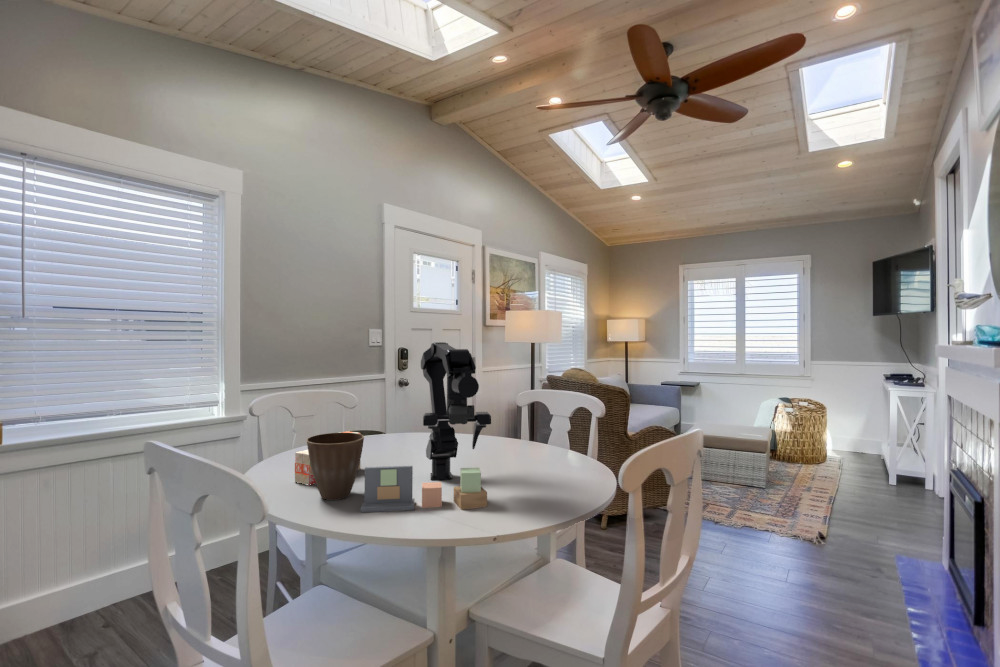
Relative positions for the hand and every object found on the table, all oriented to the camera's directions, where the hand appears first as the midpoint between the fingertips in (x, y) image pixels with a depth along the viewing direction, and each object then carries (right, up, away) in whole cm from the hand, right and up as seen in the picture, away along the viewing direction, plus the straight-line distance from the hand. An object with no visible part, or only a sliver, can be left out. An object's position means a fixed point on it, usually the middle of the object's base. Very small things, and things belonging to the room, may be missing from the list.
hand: (456, 449), depth 142 cm
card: (-16, -12, -12) cm, 24 cm away
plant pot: (-33, -12, -4) cm, 35 cm away
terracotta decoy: (-6, -12, -10) cm, 17 cm away
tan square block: (+4, -12, -10) cm, 16 cm away
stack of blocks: (-41, -12, +17) cm, 46 cm away
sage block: (+4, -8, -9) cm, 13 cm away
